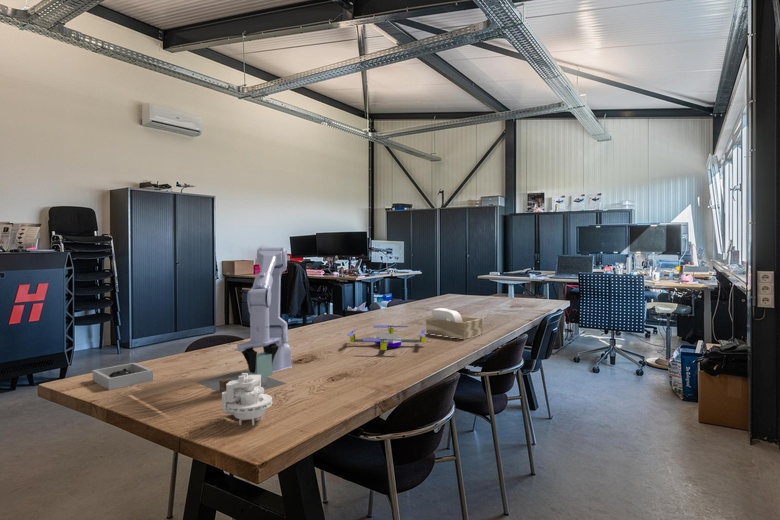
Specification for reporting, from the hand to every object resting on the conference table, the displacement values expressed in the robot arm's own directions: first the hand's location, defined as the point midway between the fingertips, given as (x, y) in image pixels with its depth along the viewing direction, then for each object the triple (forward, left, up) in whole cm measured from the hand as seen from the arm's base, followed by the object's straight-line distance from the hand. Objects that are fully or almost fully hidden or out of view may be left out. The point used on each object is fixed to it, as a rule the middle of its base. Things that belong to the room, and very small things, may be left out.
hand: (260, 370), depth 139 cm
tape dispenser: (-109, -1, -6) cm, 109 cm away
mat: (+2, -8, -6) cm, 10 cm away
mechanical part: (+17, +21, -6) cm, 28 cm away
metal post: (0, 0, -5) cm, 5 cm away
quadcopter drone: (-70, -9, -6) cm, 71 cm away
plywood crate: (-110, 0, -6) cm, 110 cm away
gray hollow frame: (+25, -43, -6) cm, 50 cm away
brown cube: (+9, -5, -5) cm, 11 cm away
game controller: (+26, -44, -6) cm, 52 cm away
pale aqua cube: (0, 0, -2) cm, 2 cm away
